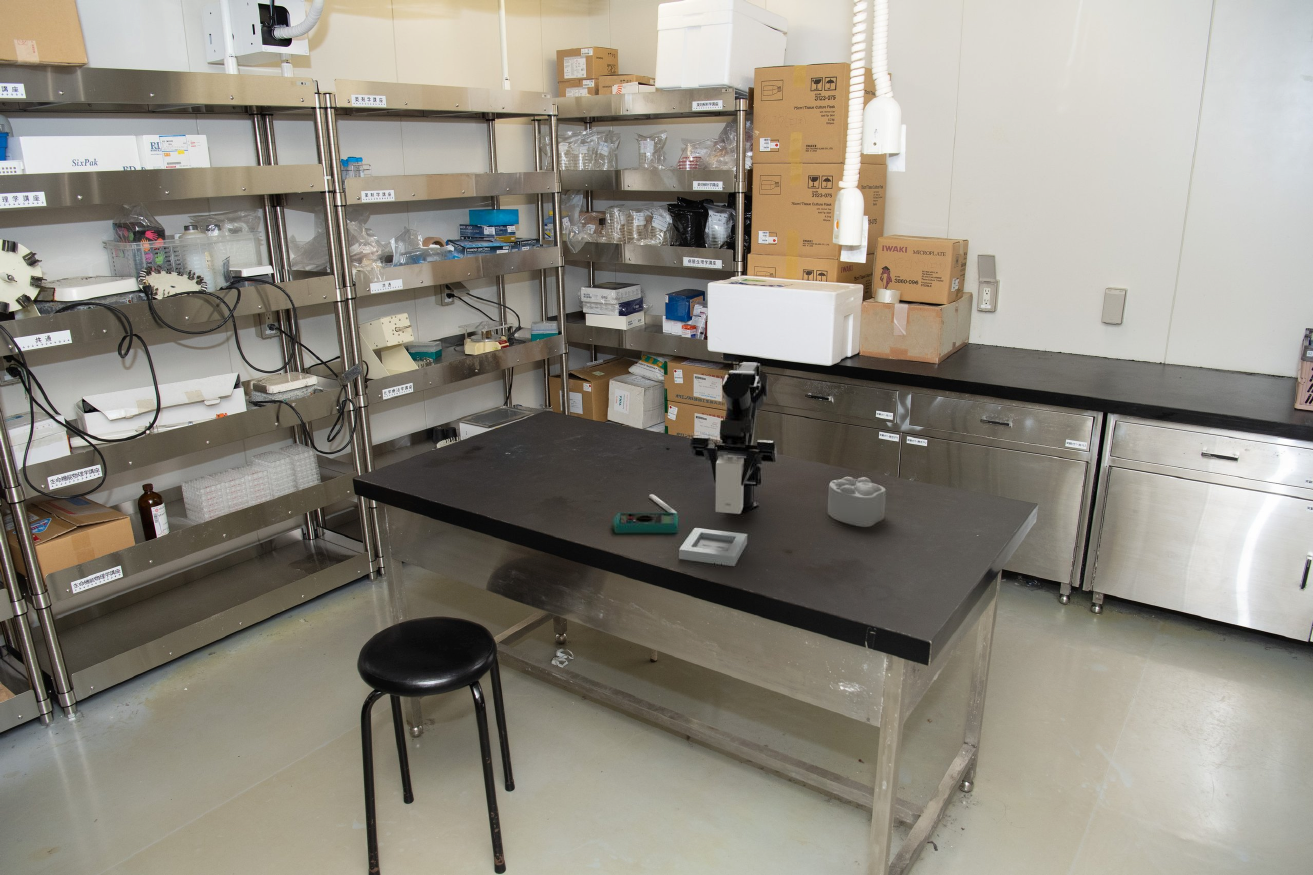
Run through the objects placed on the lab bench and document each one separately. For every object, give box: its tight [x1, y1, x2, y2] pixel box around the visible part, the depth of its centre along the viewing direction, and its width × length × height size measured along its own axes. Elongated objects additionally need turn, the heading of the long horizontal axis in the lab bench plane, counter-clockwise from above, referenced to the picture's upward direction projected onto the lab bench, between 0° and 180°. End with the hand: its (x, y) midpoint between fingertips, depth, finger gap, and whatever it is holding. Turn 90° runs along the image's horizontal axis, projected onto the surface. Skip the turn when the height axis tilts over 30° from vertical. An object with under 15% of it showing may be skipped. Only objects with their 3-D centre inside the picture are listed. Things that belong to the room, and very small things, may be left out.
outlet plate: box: [678, 527, 748, 567], centre depth 187 cm, size 12×12×2 cm
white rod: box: [649, 493, 678, 515], centre depth 212 cm, size 13×1×1 cm, turn 26°
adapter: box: [715, 454, 744, 515], centre depth 190 cm, size 4×6×13 cm
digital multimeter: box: [613, 512, 679, 534], centre depth 200 cm, size 7×15×3 cm, turn 89°
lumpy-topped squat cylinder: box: [827, 476, 887, 528], centre depth 205 cm, size 10×13×9 cm
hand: (728, 483), depth 188 cm, fingers closed on adapter, 5 cm apart
